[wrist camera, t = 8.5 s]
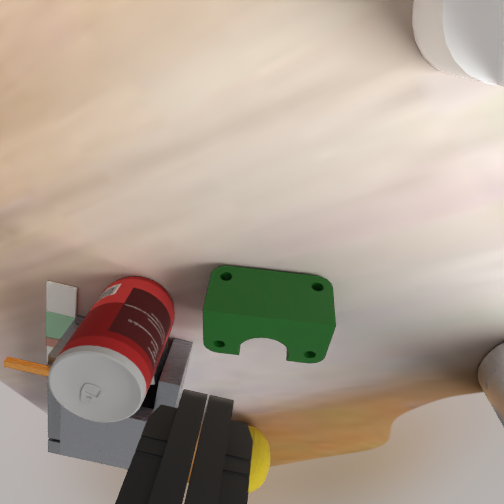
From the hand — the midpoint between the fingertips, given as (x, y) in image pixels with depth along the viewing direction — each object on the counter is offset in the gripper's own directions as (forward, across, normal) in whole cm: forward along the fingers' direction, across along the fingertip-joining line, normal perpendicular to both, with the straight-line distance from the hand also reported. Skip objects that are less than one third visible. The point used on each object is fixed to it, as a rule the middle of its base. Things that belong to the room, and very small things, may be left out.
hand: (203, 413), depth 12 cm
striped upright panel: (+24, +17, +21) cm, 36 cm away
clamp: (+25, -4, +12) cm, 28 cm away
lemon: (+25, -6, +31) cm, 40 cm away
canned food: (+25, +9, +16) cm, 31 cm away
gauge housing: (+25, +9, +27) cm, 37 cm away
